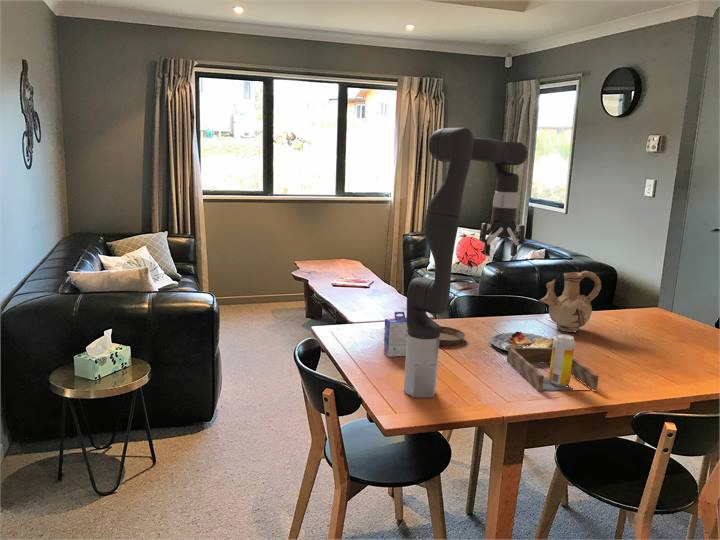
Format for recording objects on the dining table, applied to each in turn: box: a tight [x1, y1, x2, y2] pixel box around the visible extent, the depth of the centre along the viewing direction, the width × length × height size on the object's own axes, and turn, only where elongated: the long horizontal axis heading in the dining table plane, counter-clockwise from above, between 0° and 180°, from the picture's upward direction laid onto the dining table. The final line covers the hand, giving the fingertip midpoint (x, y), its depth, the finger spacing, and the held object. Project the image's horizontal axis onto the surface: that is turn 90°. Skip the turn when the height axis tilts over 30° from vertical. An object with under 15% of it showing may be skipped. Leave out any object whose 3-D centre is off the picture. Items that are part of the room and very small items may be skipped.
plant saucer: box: [439, 325, 466, 346], centre depth 217 cm, size 18×18×3 cm
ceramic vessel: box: [539, 270, 602, 333], centre depth 235 cm, size 18×19×25 cm
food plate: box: [488, 331, 554, 352], centre depth 212 cm, size 25×23×4 cm
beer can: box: [548, 333, 576, 386], centre depth 177 cm, size 6×6×15 cm
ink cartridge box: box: [383, 311, 408, 358], centre depth 198 cm, size 10×6×14 cm, turn 109°
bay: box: [506, 347, 600, 393], centre depth 185 cm, size 25×18×5 cm
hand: (500, 255), depth 189 cm, fingers open, 8 cm apart
